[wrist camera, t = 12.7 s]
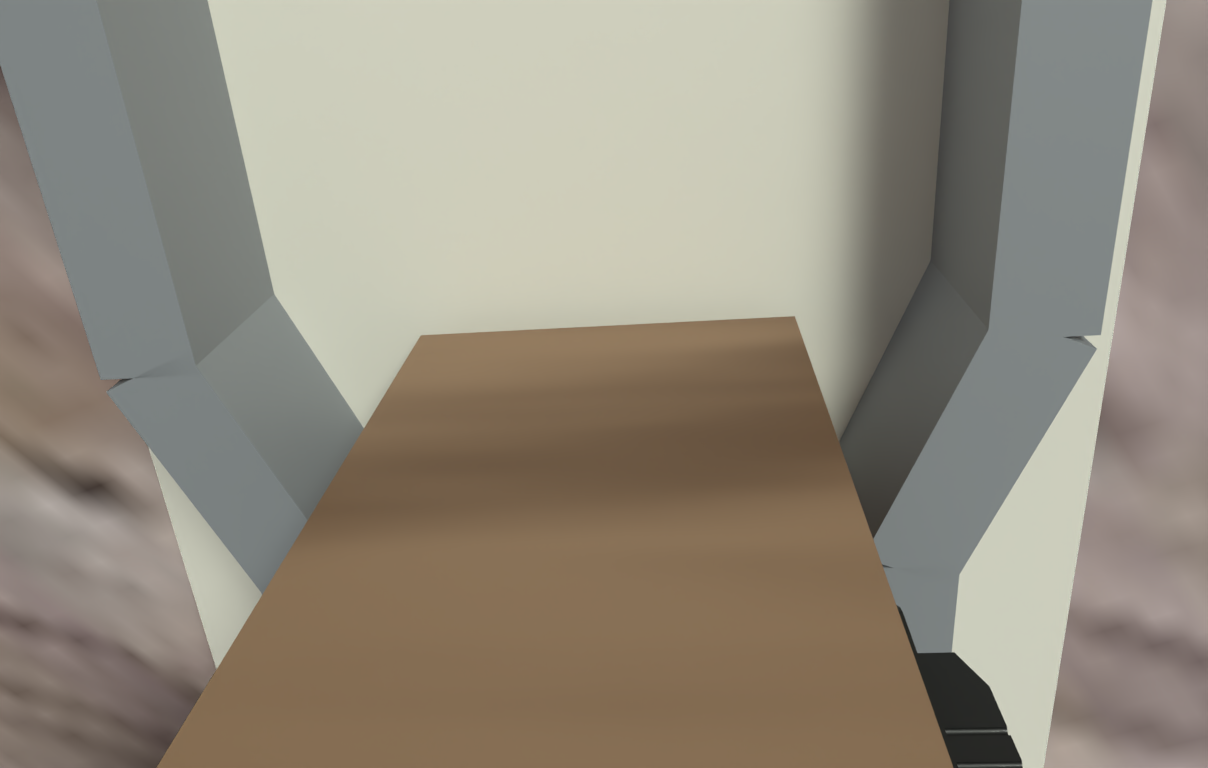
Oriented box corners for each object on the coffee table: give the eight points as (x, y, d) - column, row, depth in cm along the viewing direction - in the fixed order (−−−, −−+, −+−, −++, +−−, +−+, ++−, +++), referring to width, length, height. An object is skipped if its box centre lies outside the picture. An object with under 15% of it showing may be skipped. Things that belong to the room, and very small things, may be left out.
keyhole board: (-147, -710, 10) (-808, -1240, 6) (1259, -910, 9) (1874, -1781, 4) (290, 809, 19) (176, 1077, 15) (1011, 804, 18) (1128, 1093, 14)
